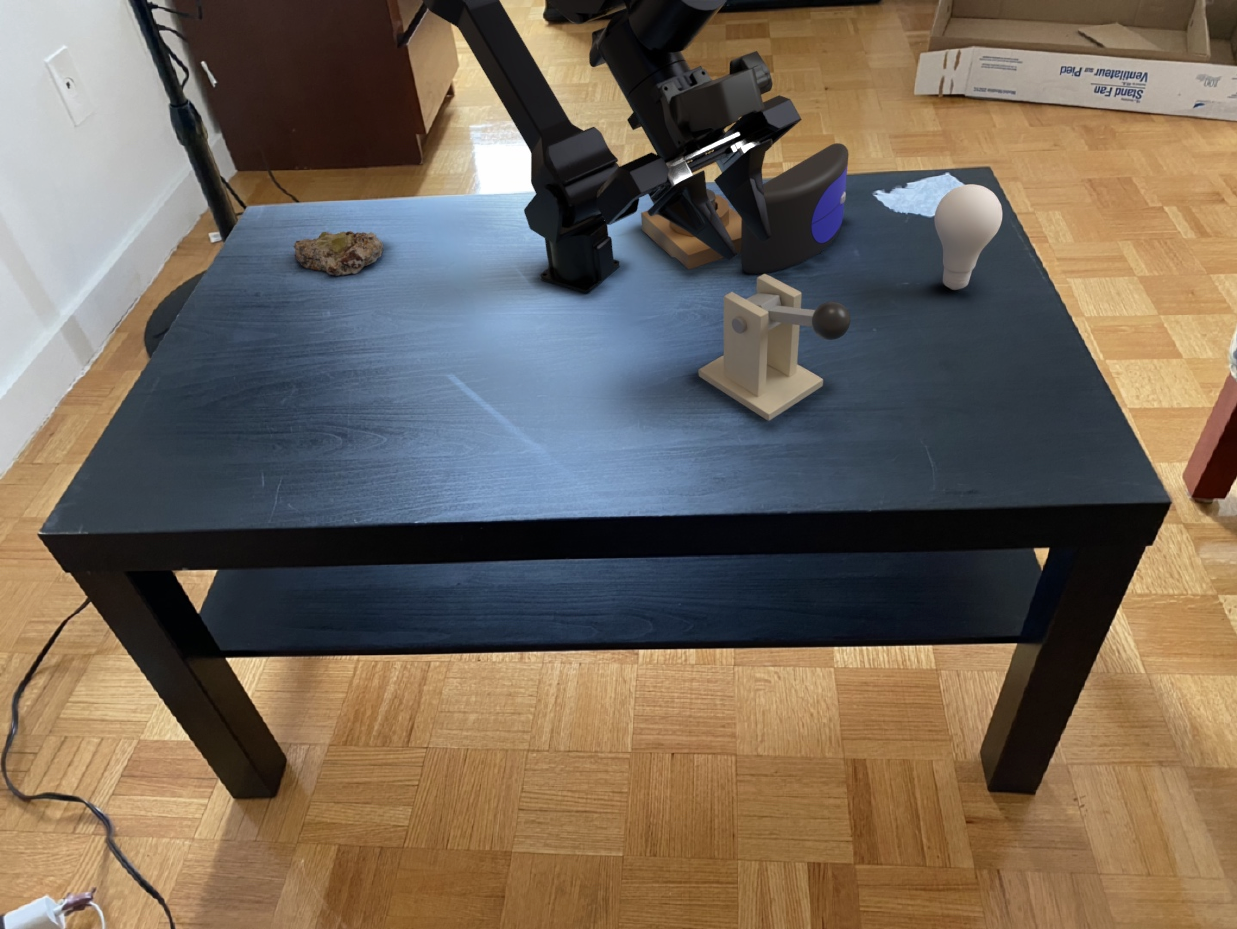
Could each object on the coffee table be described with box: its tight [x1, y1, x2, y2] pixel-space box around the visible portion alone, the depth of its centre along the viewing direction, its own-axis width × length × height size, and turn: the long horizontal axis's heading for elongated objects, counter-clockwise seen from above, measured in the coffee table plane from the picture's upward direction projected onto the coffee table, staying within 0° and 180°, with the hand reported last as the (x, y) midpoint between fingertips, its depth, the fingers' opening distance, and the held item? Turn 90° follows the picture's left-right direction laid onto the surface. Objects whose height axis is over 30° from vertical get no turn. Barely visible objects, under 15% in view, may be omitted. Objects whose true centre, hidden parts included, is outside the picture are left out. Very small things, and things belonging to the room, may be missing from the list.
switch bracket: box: [698, 273, 824, 422], centre depth 84 cm, size 9×7×10 cm
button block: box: [640, 193, 741, 270], centre depth 106 cm, size 11×9×4 cm
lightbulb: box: [933, 183, 1003, 291], centre depth 93 cm, size 6×6×11 cm
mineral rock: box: [293, 230, 385, 277], centre depth 110 cm, size 11×4×8 cm
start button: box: [706, 188, 716, 209], centre depth 104 cm, size 4×4×2 cm
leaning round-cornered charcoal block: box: [740, 142, 850, 275], centre depth 101 cm, size 16×5×9 cm, turn 134°
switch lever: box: [745, 292, 851, 341], centre depth 79 cm, size 11×3×3 cm, turn 39°
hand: (750, 249), depth 79 cm, fingers open, 4 cm apart
